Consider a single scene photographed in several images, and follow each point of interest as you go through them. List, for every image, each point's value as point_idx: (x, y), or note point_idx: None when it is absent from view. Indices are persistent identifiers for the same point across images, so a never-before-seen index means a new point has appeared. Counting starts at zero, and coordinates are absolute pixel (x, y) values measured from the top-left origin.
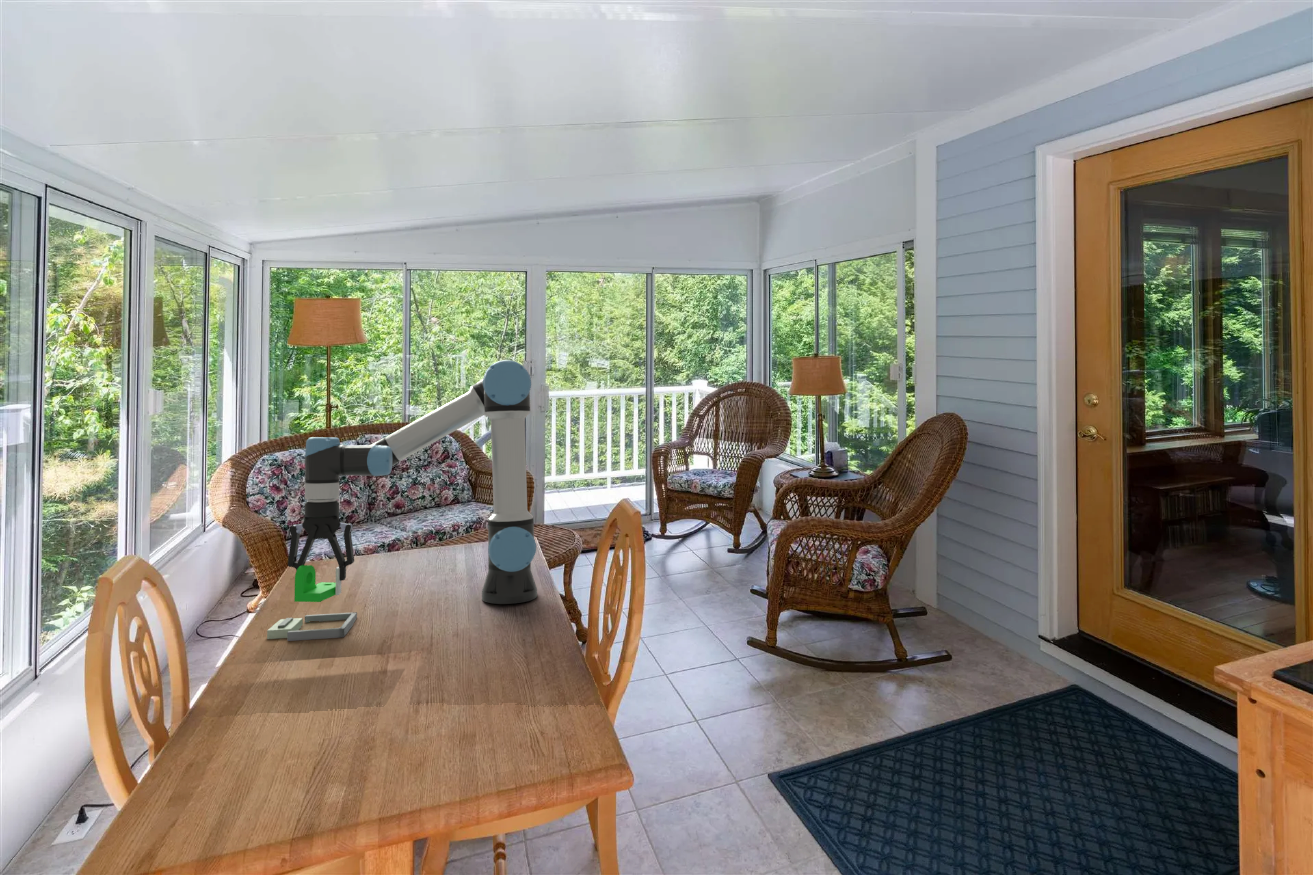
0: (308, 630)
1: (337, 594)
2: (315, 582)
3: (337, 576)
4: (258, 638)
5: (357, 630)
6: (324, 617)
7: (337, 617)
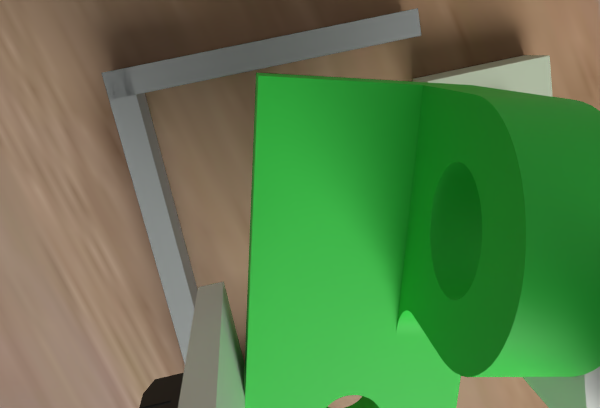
0: (308, 43)
1: (207, 286)
2: (415, 318)
3: (198, 365)
4: (573, 71)
5: (101, 207)
6: None
7: None
